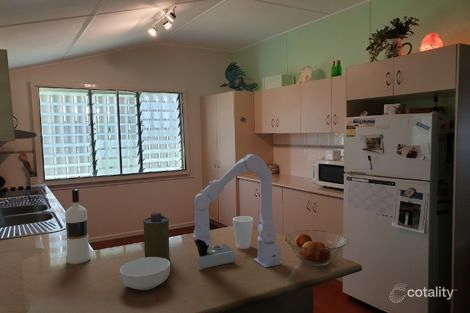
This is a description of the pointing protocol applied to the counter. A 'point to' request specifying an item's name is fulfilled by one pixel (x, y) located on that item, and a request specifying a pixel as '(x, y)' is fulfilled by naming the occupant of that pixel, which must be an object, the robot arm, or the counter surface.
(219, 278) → the counter surface
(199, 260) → the side door
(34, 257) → the counter surface
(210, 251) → the camera body
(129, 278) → the cereal bowl
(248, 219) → the foam cup
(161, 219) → the canister
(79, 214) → the vodka
